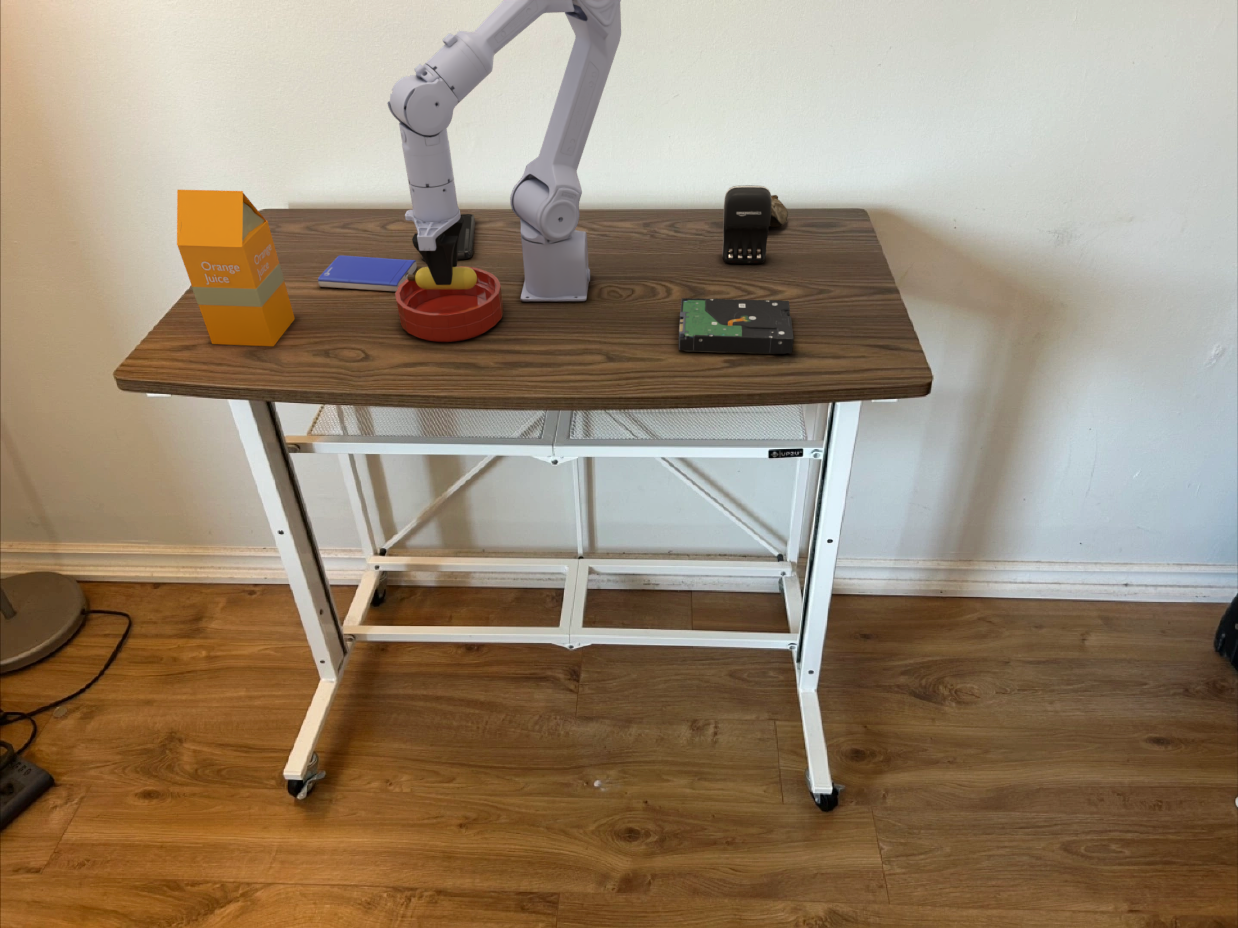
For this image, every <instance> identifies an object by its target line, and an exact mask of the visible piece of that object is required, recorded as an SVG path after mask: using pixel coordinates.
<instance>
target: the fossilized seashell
mask: <svg viewBox="0 0 1238 928" xmlns="http://www.w3.org/2000/svg"><path fill="white" fill-rule="evenodd" d="M771 201H772V206H771V220H770V226H769V227H772V228H779V227H782V226H784V225H785V224H786V223H788V217H789V211H788V209H787V207H786V206H785V205H784V203H782V201H781V200H780V199H779V196H778V195H777V194H771Z"/></svg>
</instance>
